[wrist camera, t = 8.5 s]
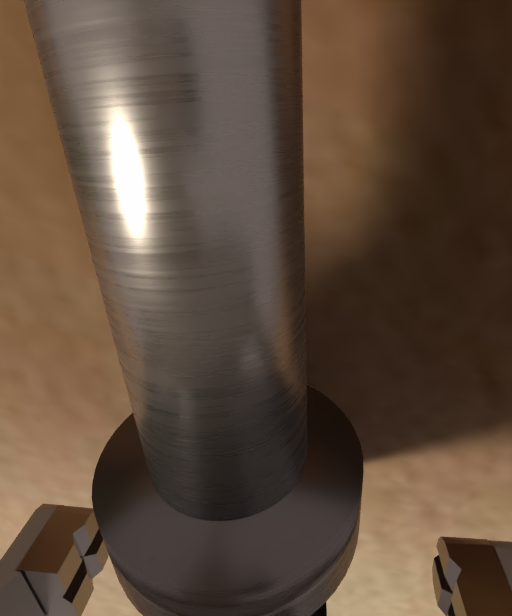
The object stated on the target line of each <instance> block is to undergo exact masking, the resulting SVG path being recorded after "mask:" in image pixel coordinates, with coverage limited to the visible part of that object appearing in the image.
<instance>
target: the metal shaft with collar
mask: <svg viewBox="0 0 512 616" xmlns="http://www.w3.org/2000/svg"><path fill="white" fill-rule="evenodd" d="M24 4H25V8H26V11H27V15H28V19H29V23H30V26H31V30H32V34H33V38H34V41H35V45H36V49H37V53H38V57H39V60H40V64H41V68H42V72H43V75H44V79H45V83H46V87H47V90H48V94H49V98H50V102H51V105H52V109H53V113H54V117H55V120H56V124H57V128H58V132H59V136H60V139H61V143H62V147H63V151H64V154H65V158H66V162H67V166H68V169H69V173H70V177H71V181H72V184H73V188H74V192H75V196H76V200H77V203H78V207H79V211H80V215H81V218H82V222H83V226H84V230H85V233H86V237H87V241H88V245H89V248H90V252H91V256H92V260H93V263H94V267H95V271H96V275H97V279H98V282H99V286H100V290H101V294H102V297H103V301H104V305H105V309H106V312H107V316H108V320H109V324H110V327H111V331H112V335H113V339H114V343H115V346H116V350H117V354H118V358H119V361H120V365H121V369H122V373H123V376H124V380H125V384H126V388H127V391H128V395H129V399H130V403H131V406H132V410H133V413H132V414H131V415H130V416H129V417H128V418H127V419H126V420H125V421H124V422H123V423H122V424H121V425H120V426H119V427H118V428H117V430H116V431H115V432H114V434H113V435H112V436H111V438H110V439H109V441H108V442H107V444H106V446H105V448H104V450H103V451H102V453H101V455H100V458H99V461H98V463H97V466H96V469H95V474H94V478H93V484H92V502H93V510H94V515H95V518H96V521H97V524H98V527H99V530H100V532H101V535H102V537H103V540H104V543H105V545H106V548H107V551H108V553H109V556H110V559H111V561H112V564H113V566H114V569H115V572H116V574H117V577H118V580H119V582H120V584H121V586H122V588H123V590H124V592H125V594H126V595H127V597H128V599H129V600H130V601H131V602H132V604H133V605H134V606H135V608H136V609H137V610H138V611H139V612H140V613H141V614H142V615H143V616H327V614H326V601H327V600H328V599H329V597H330V596H331V595H332V594H333V593H334V592H335V591H336V589H337V587H338V586H339V584H340V583H341V581H342V580H343V578H344V576H345V575H346V573H347V570H348V568H349V566H350V564H351V561H352V559H353V556H354V553H355V549H356V545H357V541H358V533H359V524H360V510H361V497H362V483H363V455H362V450H361V446H360V442H359V439H358V437H357V434H356V432H355V430H354V428H353V426H352V424H351V423H350V421H349V419H348V418H347V417H346V416H345V414H344V413H343V412H342V411H341V409H340V408H339V407H338V406H337V405H335V404H334V403H333V402H332V401H331V400H330V399H329V398H327V397H326V396H325V395H323V394H322V393H320V392H319V391H317V390H315V389H313V388H312V387H310V386H308V385H307V378H306V306H305V234H304V163H303V91H302V19H301V0H24Z"/></svg>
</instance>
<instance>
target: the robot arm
mask: <svg viewBox="0 0 512 616" xmlns="http://www.w3.org/2000/svg"><path fill="white" fill-rule="evenodd" d="M437 549H438V553H439V555H438V556H437V557H435V558H434V561H433V567H432V572H433V585H434V592H435V596H436V600H437V605H438V607H439V608H440V609H441V610H442V611H443V613H444V614H445V615H446V616H512V542H507V541H491V540H487V539H472V538H456V537H440V538H439V539H438V542H437ZM108 555H109V553H108V551H107V548H106V545H105V543H104V540H103V537H102V535H101V532H100V530H99V527H98V524H97V521H96V518H95V515H94V510H93V508H84V507H73V506H64V505H53V504H42V505H41V506H40V507H39V508H37V509H36V510H35V512H34V513H33V514H32V516H31V517H30V519H29V520H28V522H27V523H26V524H25V526H24V527H23V529H22V530H21V532H20V533H19V534H18V536H17V537H16V539H15V540H14V542H13V543H12V544H11V546H10V547H9V549H8V550H7V552H6V553H5V554H4V556H3V557H2V559H1V560H0V616H81V615H82V613H83V611H84V609H85V607H86V605H87V602H88V600H89V598H90V596H91V594H92V592H93V590H94V587H93V580H92V579H93V578H94V577H95V576H96V575H97V574H98V573H99V572H101V571H102V570H103V568H104V565H105V563H106V561H107V559H108Z"/></svg>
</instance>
